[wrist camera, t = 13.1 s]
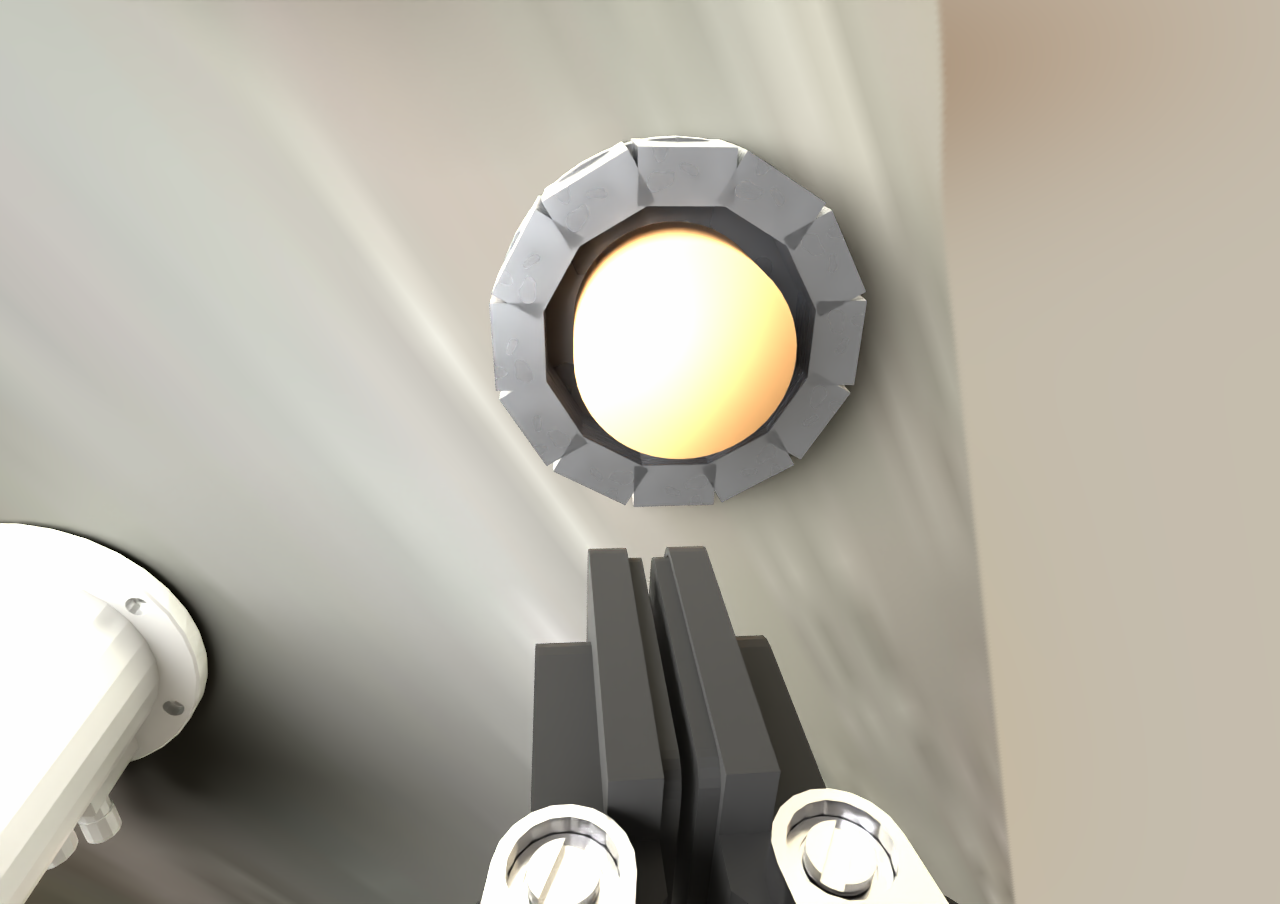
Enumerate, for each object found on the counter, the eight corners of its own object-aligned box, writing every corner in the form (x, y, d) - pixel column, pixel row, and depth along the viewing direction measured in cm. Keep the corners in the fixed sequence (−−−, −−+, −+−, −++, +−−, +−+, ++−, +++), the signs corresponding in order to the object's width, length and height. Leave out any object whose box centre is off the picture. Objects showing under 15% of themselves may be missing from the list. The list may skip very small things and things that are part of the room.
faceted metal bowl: (815, 465, 31) (838, 503, 28) (508, 473, 30) (502, 513, 27) (860, 137, 25) (894, 145, 23) (483, 133, 24) (473, 140, 22)
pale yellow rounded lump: (756, 410, 29) (783, 457, 25) (574, 411, 28) (574, 460, 25) (777, 223, 26) (810, 247, 22) (572, 219, 25) (572, 243, 22)
